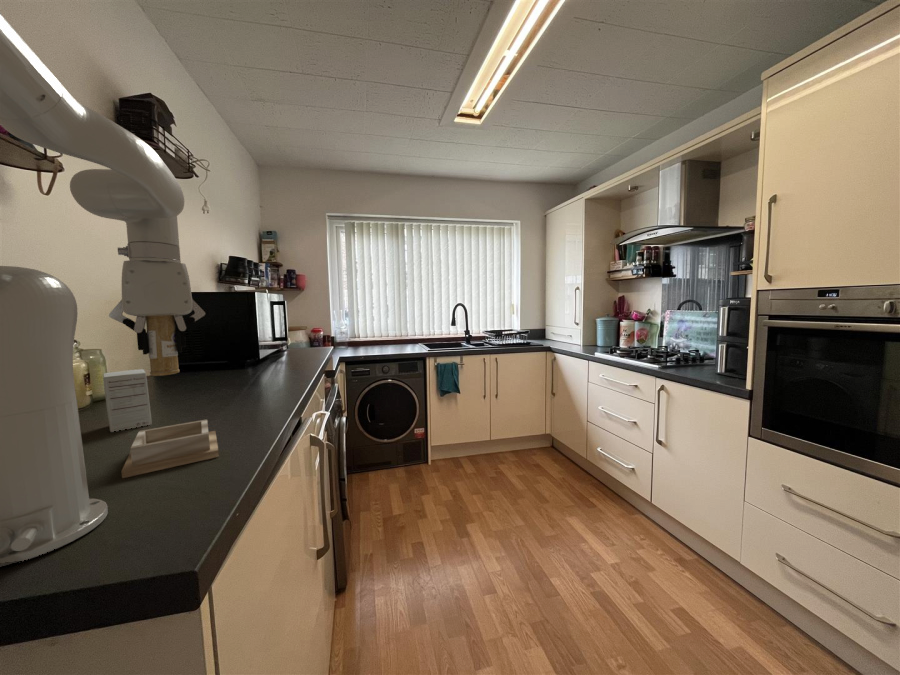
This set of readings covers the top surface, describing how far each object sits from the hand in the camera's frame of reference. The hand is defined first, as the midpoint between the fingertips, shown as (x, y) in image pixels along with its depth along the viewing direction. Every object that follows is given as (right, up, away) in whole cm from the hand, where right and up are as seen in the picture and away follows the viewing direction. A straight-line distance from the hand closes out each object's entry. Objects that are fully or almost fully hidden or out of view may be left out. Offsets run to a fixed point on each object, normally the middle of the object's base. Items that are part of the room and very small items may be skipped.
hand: (163, 351), depth 69 cm
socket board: (+4, -19, -2) cm, 19 cm away
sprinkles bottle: (0, -5, 0) cm, 5 cm away
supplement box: (-20, -18, +16) cm, 31 cm away
